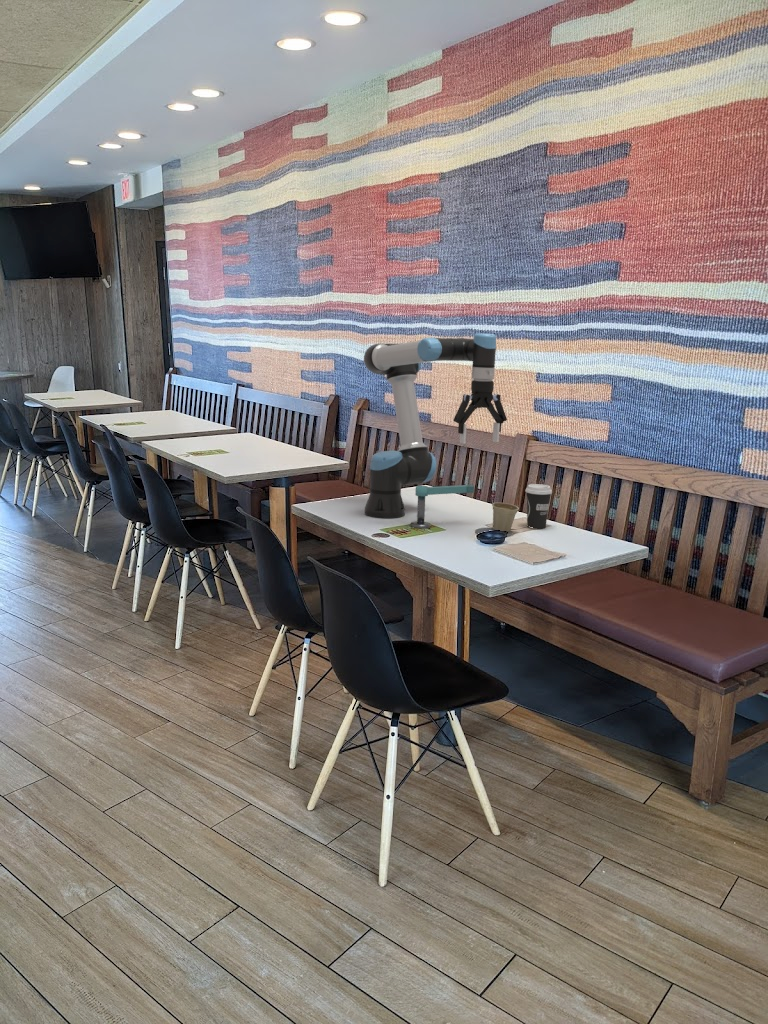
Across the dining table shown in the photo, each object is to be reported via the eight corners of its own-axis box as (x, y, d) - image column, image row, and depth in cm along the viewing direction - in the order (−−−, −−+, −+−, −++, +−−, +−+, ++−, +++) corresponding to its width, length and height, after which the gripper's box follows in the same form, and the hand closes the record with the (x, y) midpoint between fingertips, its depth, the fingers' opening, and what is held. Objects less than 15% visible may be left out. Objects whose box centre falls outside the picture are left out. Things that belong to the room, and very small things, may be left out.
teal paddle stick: (418, 496, 290) (418, 488, 289) (413, 494, 294) (413, 485, 293) (474, 493, 298) (475, 485, 297) (469, 491, 302) (469, 483, 301)
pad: (467, 530, 291) (467, 529, 291) (498, 527, 297) (498, 526, 296) (488, 539, 279) (488, 538, 279) (520, 535, 285) (520, 534, 285)
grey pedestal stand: (407, 524, 296) (408, 494, 294) (424, 523, 300) (425, 493, 297) (416, 529, 290) (417, 498, 288) (433, 527, 294) (435, 497, 291)
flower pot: (512, 527, 295) (516, 504, 293) (517, 535, 286) (521, 511, 284) (486, 524, 294) (490, 501, 292) (490, 532, 285) (494, 508, 283)
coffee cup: (528, 530, 293) (531, 488, 290) (519, 524, 302) (521, 483, 299) (553, 529, 295) (557, 488, 292) (543, 523, 304) (546, 483, 301)
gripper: (457, 381, 271) (454, 445, 276) (519, 380, 282) (515, 442, 287) (445, 379, 278) (442, 442, 282) (506, 379, 289) (502, 439, 294)
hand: (479, 442), depth 285 cm, fingers open, 13 cm apart
